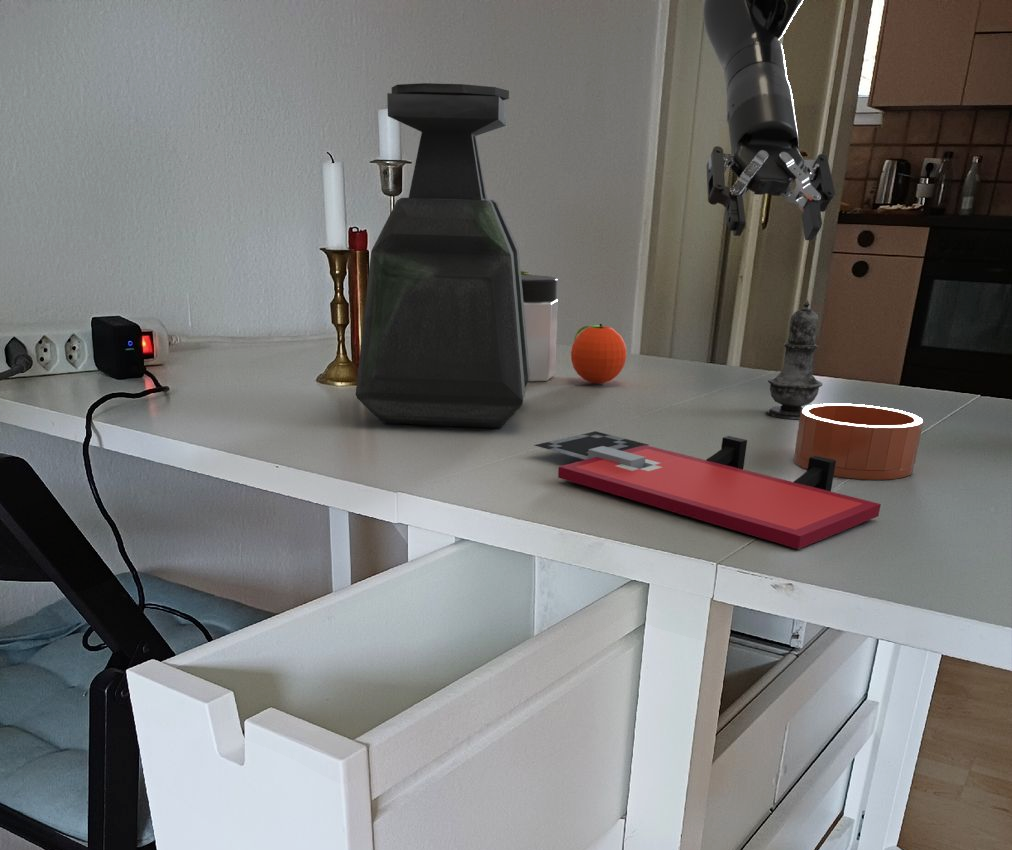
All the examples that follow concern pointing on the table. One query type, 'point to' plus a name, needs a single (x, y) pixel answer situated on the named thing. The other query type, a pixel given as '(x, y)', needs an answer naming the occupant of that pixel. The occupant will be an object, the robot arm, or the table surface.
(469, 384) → the bottle
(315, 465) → the table surface
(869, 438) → the round brown bowl
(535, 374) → the jar
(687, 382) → the table surface
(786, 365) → the salt shaker
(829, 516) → the red board with handle
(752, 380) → the table surface
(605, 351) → the clementine
